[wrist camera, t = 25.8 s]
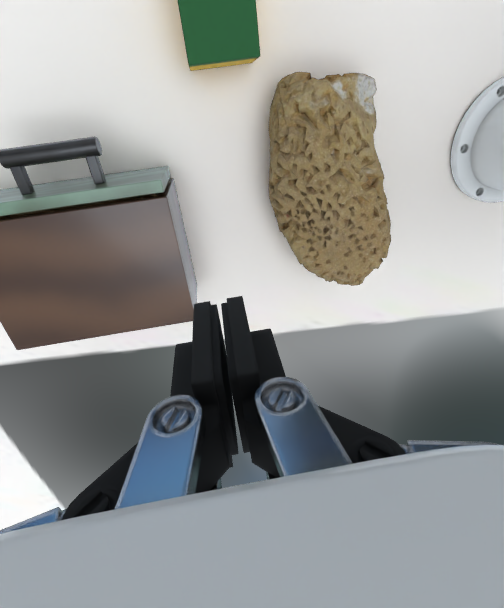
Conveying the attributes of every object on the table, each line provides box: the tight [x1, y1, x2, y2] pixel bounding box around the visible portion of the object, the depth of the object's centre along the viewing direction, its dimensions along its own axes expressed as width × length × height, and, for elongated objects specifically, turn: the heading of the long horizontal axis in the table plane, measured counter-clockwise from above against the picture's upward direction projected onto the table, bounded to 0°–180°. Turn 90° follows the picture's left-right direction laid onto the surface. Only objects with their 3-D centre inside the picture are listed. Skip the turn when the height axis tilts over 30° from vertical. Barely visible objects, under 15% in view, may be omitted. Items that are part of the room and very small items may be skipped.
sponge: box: [269, 72, 391, 286], centre depth 34 cm, size 13×8×20 cm
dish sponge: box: [178, 0, 260, 71], centre depth 27 cm, size 6×7×5 cm
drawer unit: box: [0, 179, 197, 350], centre depth 34 cm, size 12×17×8 cm
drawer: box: [0, 137, 170, 219], centre depth 32 cm, size 16×17×7 cm
